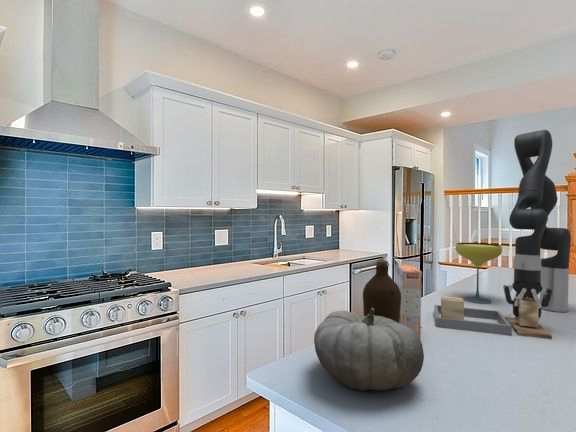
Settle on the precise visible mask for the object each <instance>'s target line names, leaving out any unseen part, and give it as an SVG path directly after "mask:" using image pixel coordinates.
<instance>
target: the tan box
mask: <svg viewBox="0 0 576 432" xmlns="http://www.w3.org/2000/svg"><path fill="white" fill-rule="evenodd" d="M518 307H519V315H518V317H515V316H514V317H515V320H516V321H517V322H518V323H519V324H520V325H522V326H531V327H538V324H539V319H538V313H539V303H538V302H537V301H534V300H533V299H532V298H528V297H527V298H522V299H521V300H519V304H518Z"/></svg>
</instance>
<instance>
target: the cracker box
mask: <svg viewBox="0 0 576 432" xmlns="http://www.w3.org/2000/svg"><path fill="white" fill-rule="evenodd" d="M397 265H398V266H397V285H398V287H399V289H400V292H401V308H400V323H399V324H403V325H405V326H407V327H409V328H410V329H412V330H413V331H414V332H415V333H416V334H417V335H418V337H419V338H420V339H421V324H422V323H421V321H422V320H421V316H422V315H421V314H422V287H423V286H422V282H423V281H422V279H423V278H422V277H423V272H422V271H421V270H420V269H419V268H418V267H417V266H415V265H413V264H397Z"/></svg>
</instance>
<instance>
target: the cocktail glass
mask: <svg viewBox="0 0 576 432" xmlns="http://www.w3.org/2000/svg"><path fill="white" fill-rule="evenodd" d="M455 251H456V253H457V254H458V255H459V256H461V257H462V258H464V259H466V260H468V261H470V262H471V263H472V264H473V265H474V267H475V268H476V290H475V291H476V292H475V296H465V297H464V298H463V301H464V300H465V301H466V302H470V303H475V304H491V303H492V300H491V299H488V298H486V297H485V298H484V297H481V296H480V292H479V285H480V284H479V283H480V282H479V274H480V273H479V270H480V269H479V268H481V267H482V266H483V265H484V264H485V263H487V262H490V261H492V260H494V259H496V258H498V257H500V256H501V255H502V253H503V247H502V245H501V244H496V243H495V244H494V243H486V242H457V243H456V244H455Z"/></svg>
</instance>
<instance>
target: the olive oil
mask: <svg viewBox="0 0 576 432" xmlns="http://www.w3.org/2000/svg"><path fill="white" fill-rule="evenodd" d="M388 264H389V261H388V260H385V259H384V260H383V259H378V260H376V265H375V274H374V275H373V276H372V277H371V278H370V279H369V280H368V282H366V283H365V285H364V286H363V287H364V288H363V290H362V305H363V308H362V309H363V316H367V315H368V314H369V312H370V310H371V309H372V308H374V315H375V316H382V317H385V318H389V319H392V320H394V321H396V322H398V323H400V308H401V292H400V289H399V287H398V283H396V282H395V281H394V279H393V278H392V277H391V276H390V274H389V265H388Z"/></svg>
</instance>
